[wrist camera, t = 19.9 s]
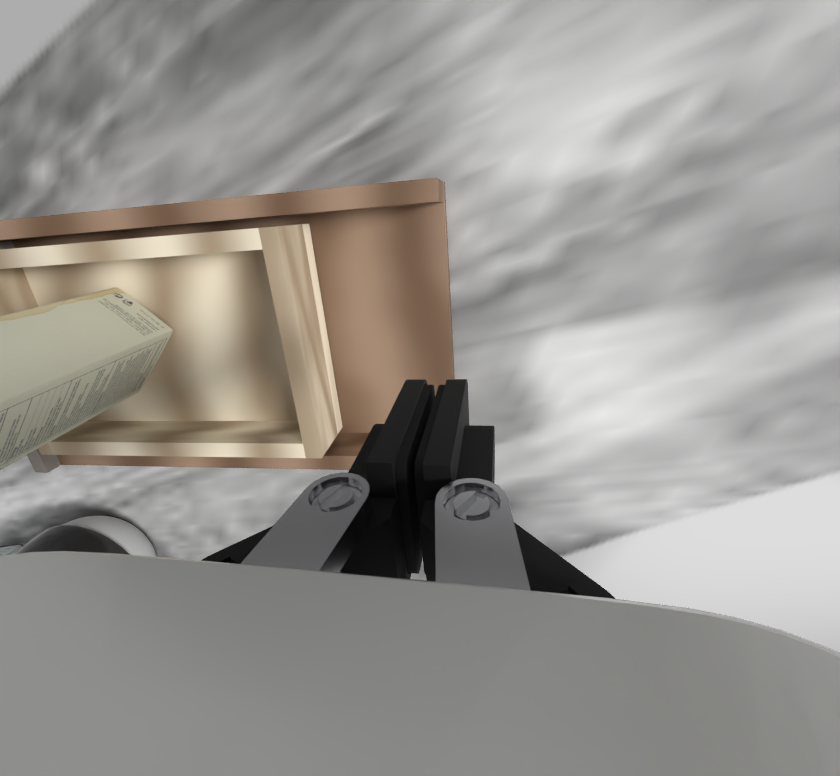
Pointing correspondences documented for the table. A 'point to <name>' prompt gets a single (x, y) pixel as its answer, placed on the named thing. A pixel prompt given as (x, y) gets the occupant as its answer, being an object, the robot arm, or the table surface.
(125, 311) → the skincare box
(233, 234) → the birch crate
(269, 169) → the table surface
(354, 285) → the wooden serving tray
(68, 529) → the black penguin figurine
